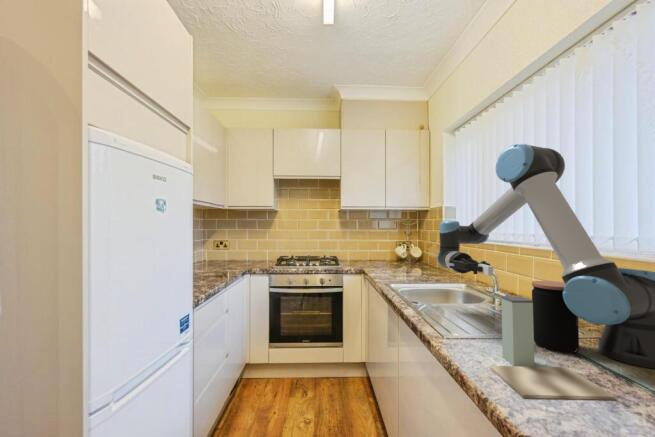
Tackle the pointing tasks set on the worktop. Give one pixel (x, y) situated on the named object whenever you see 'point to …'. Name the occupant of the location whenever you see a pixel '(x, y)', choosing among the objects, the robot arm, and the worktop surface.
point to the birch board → (550, 383)
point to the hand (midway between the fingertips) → (490, 271)
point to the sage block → (517, 330)
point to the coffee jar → (553, 318)
